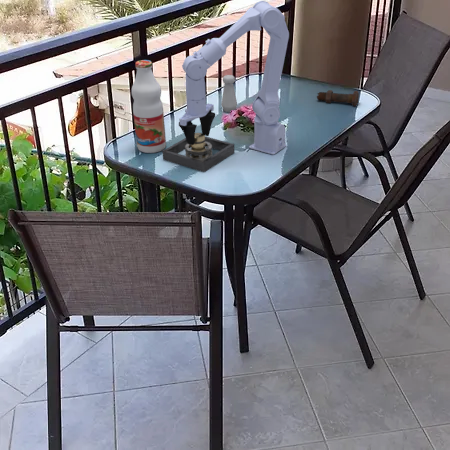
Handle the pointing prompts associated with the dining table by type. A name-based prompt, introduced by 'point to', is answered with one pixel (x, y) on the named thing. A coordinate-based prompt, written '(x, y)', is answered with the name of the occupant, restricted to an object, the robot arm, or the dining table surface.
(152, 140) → the fruit juice
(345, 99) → the bolt
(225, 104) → the salt shaker
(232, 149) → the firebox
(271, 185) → the dining table surface
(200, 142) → the beige cylinder
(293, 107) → the dining table surface
